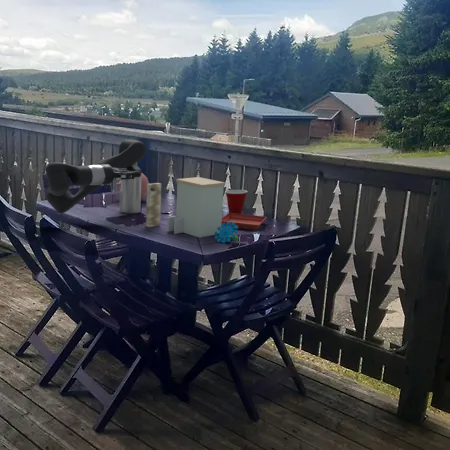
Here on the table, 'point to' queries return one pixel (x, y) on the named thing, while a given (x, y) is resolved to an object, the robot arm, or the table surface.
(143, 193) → the balloon
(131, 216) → the table surface
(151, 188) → the tall wooden plank
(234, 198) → the plastic cup
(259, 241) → the table surface
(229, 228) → the gear
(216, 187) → the cabinet
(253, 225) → the plant saucer
